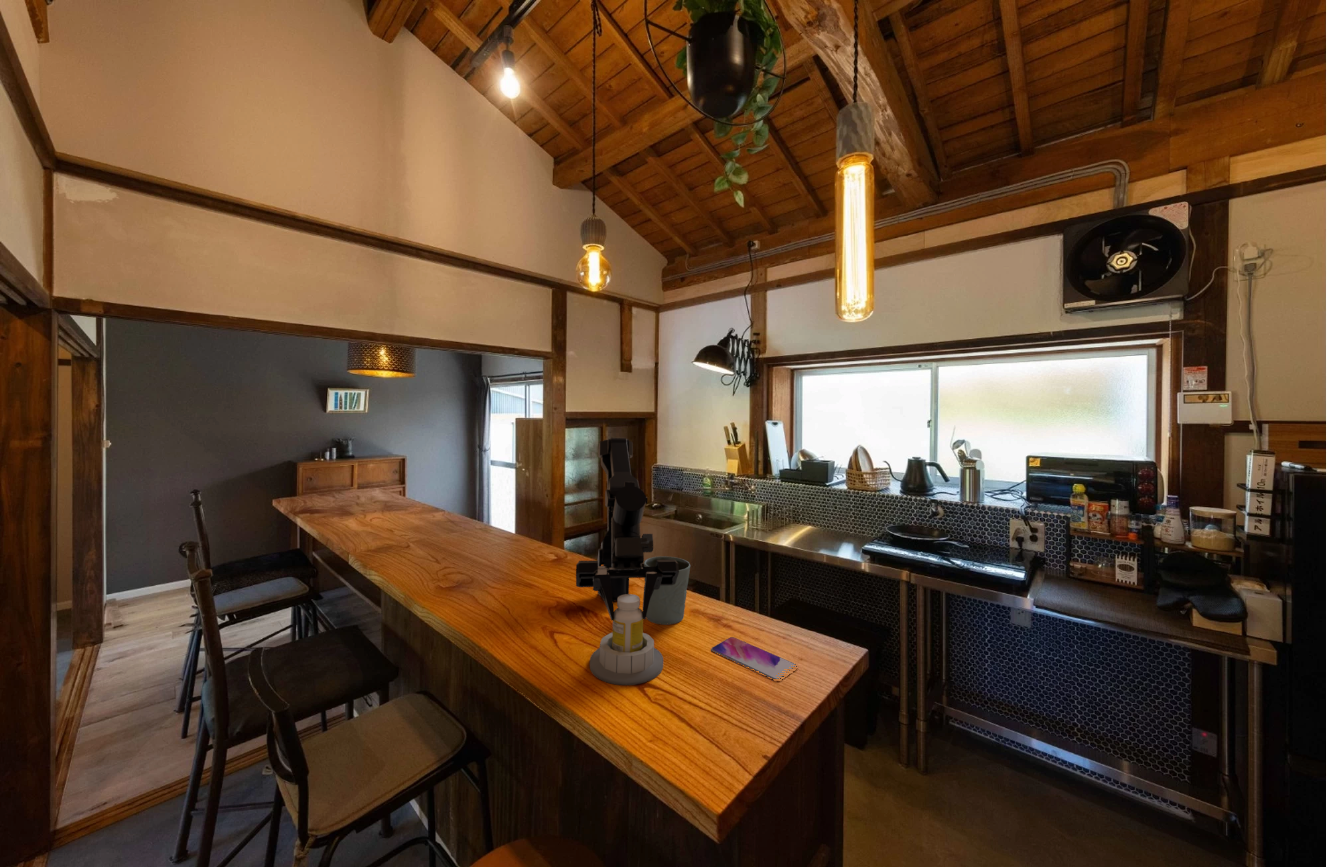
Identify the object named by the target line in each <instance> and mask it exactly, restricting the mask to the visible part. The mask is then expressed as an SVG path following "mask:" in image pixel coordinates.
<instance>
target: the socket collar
mask: <svg viewBox="0 0 1327 867" xmlns="http://www.w3.org/2000/svg"><path fill="white" fill-rule="evenodd" d="M612 635H613V631H612V632H610V633H607V635H605V636H603V637H602V638H601V640H600V643H599V648H597V649H596V650H594V652H592V654H591V655H590V658H589V670H590V671H591V674H592V675H593V676H594V677H595V678H597V679H598V680H600V681H603V682H605V683H606V684H611V685H617V686H635V685H636V686H637V685H640V684H645V683H647V681H648V682H650V681H651V680H654V679H655V678H656V677H658V676H659V675H660V674H661V673H662V672H663V668H664V657H663V655H662V653H661V652H660V650H658V649H657V648H655V640H654V638H652V637H651V636H650V635H649V634H648V633H644V632H643V642H642V650H640V651H635V652H631V653H628V652H618V651H615V650H612Z"/></svg>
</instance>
